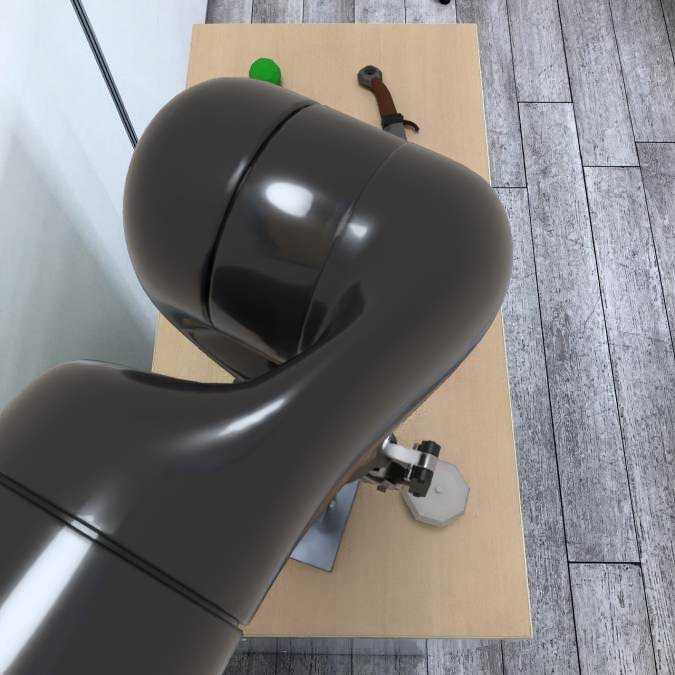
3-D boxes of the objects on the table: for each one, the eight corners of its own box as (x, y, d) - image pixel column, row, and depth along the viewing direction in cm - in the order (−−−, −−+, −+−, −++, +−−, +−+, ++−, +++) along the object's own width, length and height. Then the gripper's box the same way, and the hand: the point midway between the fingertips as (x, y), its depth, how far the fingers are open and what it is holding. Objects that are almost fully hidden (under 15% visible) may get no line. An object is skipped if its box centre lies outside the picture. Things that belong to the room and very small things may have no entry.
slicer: (293, 450, 79) (285, 426, 67) (362, 474, 77) (365, 453, 66) (258, 546, 74) (243, 539, 62) (330, 572, 73) (328, 569, 61)
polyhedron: (246, 94, 99) (242, 71, 95) (257, 71, 101) (253, 48, 97) (276, 102, 99) (273, 79, 94) (286, 78, 101) (284, 55, 96)
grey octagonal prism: (468, 527, 75) (480, 522, 69) (403, 533, 75) (408, 529, 69) (458, 460, 78) (468, 450, 72) (395, 466, 78) (399, 456, 72)
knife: (408, 56, 99) (450, 218, 88) (407, 67, 101) (447, 227, 91) (354, 62, 99) (389, 226, 88) (353, 73, 101) (387, 234, 90)
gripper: (173, 427, 33) (226, 477, 48) (439, 517, 31) (407, 540, 46) (228, 301, 35) (262, 387, 50) (476, 378, 33) (434, 443, 48)
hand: (331, 460), depth 48 cm, fingers open, 8 cm apart
